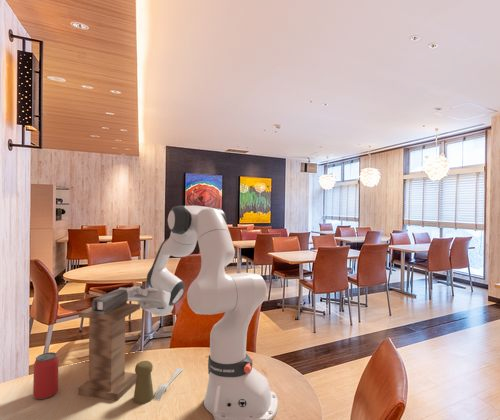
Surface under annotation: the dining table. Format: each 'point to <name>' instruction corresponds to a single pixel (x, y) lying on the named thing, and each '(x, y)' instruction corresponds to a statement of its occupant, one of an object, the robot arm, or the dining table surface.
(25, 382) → the dining table surface
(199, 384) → the dining table surface
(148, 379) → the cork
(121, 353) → the tube stand
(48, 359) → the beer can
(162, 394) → the fork
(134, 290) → the grey bar
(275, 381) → the dining table surface
